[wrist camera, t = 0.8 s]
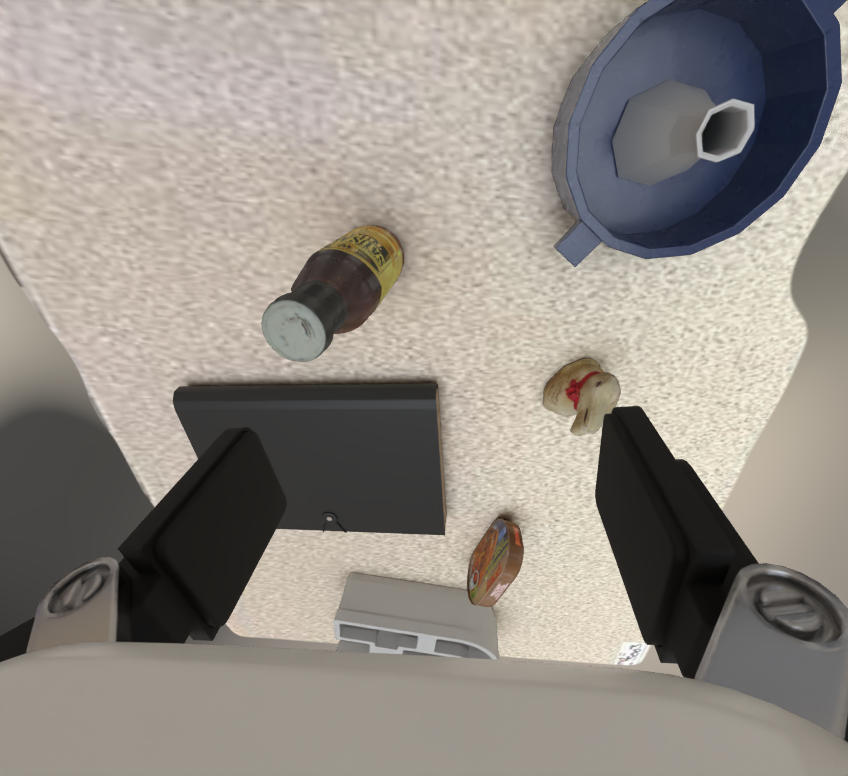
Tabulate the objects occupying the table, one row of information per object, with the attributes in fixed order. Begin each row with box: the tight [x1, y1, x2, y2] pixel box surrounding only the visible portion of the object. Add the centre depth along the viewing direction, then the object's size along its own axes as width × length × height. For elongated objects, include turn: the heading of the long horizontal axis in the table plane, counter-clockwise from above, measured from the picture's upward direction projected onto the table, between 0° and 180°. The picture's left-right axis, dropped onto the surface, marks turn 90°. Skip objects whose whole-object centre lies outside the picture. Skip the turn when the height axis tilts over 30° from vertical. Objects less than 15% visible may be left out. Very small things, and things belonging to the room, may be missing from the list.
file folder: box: [173, 383, 447, 535], centre depth 53 cm, size 33×4×24 cm
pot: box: [552, 0, 847, 267], centre depth 29 cm, size 17×22×6 cm
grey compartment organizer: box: [334, 572, 500, 660], centre depth 69 cm, size 17×28×9 cm, turn 85°
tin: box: [467, 519, 524, 607], centre depth 57 cm, size 15×3×8 cm, turn 162°
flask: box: [612, 80, 755, 186], centre depth 27 cm, size 7×7×10 cm
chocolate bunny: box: [543, 358, 621, 436], centre depth 40 cm, size 6×8×10 cm
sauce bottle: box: [262, 226, 404, 362], centre depth 31 cm, size 7×6×20 cm
